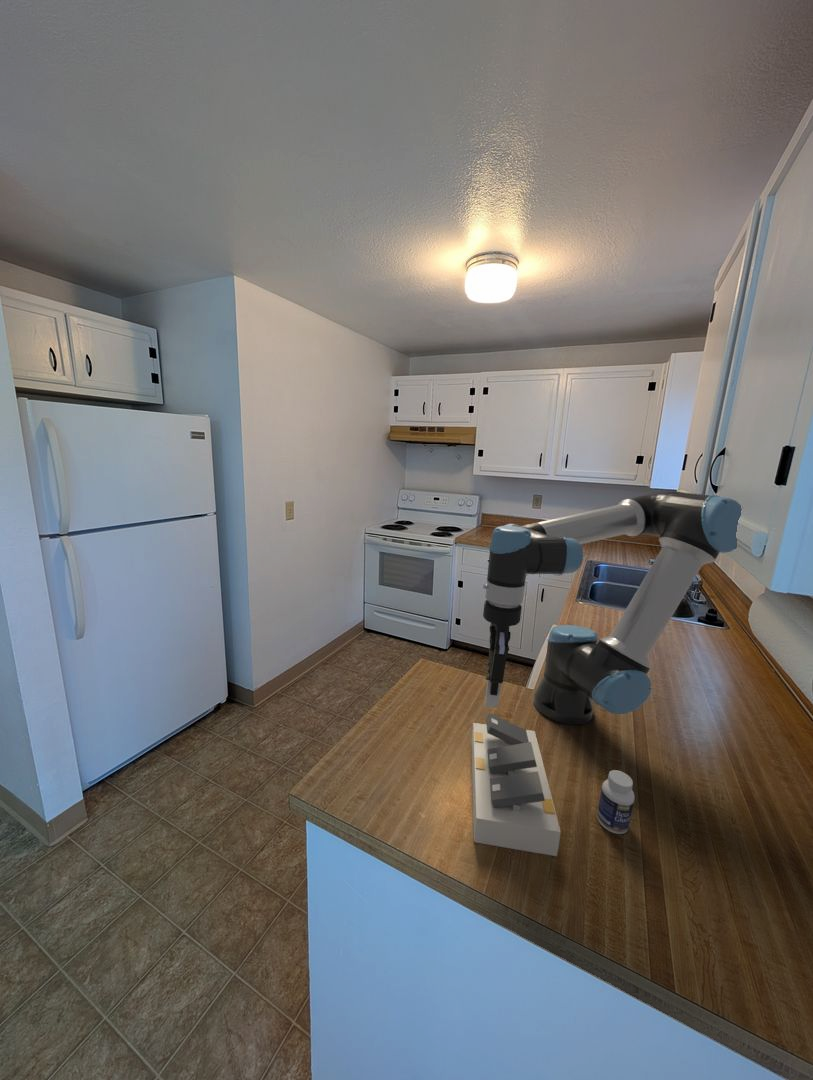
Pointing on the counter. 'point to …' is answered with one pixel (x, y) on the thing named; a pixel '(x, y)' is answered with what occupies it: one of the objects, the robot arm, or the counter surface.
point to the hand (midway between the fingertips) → (491, 704)
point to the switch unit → (515, 823)
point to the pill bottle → (616, 802)
